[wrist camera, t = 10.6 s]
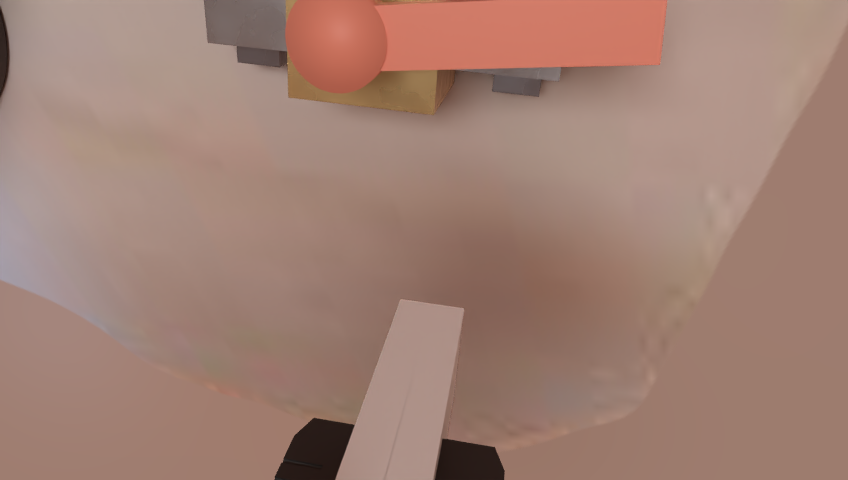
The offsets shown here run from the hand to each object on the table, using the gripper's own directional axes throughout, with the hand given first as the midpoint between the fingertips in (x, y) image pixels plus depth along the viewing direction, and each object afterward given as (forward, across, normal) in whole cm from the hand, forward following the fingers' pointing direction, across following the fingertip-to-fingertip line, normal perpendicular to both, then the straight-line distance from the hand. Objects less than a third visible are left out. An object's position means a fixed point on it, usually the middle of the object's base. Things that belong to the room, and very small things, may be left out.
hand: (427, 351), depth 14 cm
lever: (+13, -1, +5) cm, 14 cm away
